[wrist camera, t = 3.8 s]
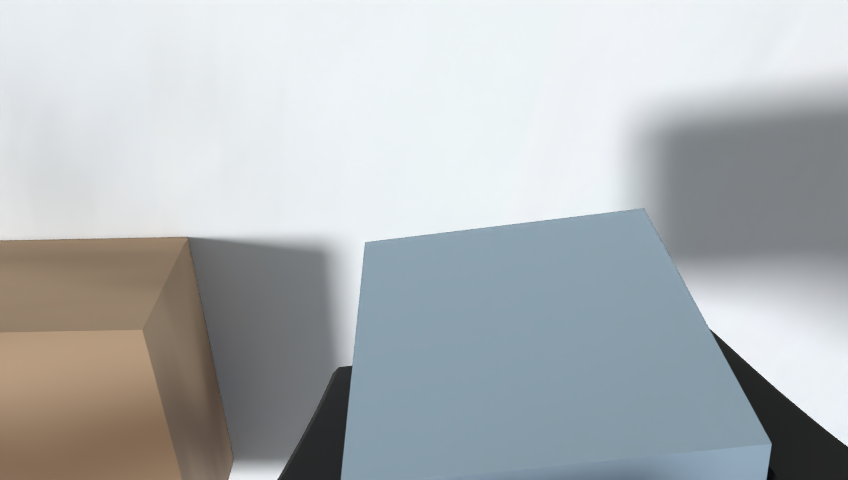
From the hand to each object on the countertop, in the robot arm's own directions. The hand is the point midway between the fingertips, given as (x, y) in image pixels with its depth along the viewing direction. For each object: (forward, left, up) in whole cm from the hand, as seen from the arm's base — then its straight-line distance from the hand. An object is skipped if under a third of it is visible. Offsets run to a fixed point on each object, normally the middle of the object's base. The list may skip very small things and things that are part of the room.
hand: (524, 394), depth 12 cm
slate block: (0, 0, -2) cm, 2 cm away
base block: (-4, +12, -8) cm, 15 cm away
